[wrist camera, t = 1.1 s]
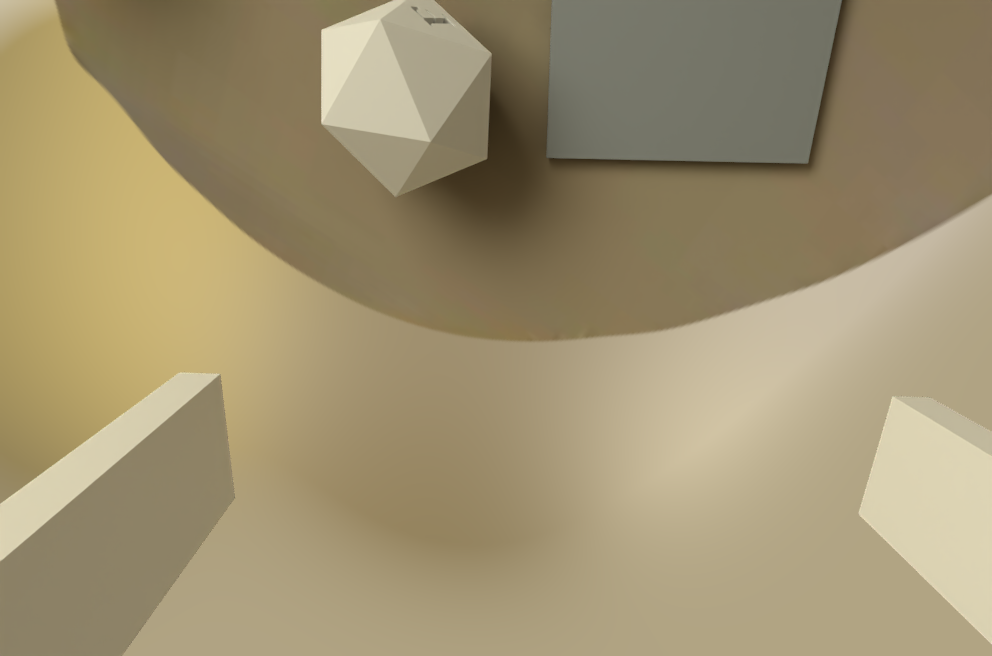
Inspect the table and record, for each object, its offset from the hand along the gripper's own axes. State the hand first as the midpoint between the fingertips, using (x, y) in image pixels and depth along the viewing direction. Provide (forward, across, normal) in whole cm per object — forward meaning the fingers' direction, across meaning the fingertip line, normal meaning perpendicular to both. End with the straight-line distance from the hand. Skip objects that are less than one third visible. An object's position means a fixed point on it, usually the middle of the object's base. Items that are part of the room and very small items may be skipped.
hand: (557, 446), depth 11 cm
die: (+23, -5, +8) cm, 25 cm away
